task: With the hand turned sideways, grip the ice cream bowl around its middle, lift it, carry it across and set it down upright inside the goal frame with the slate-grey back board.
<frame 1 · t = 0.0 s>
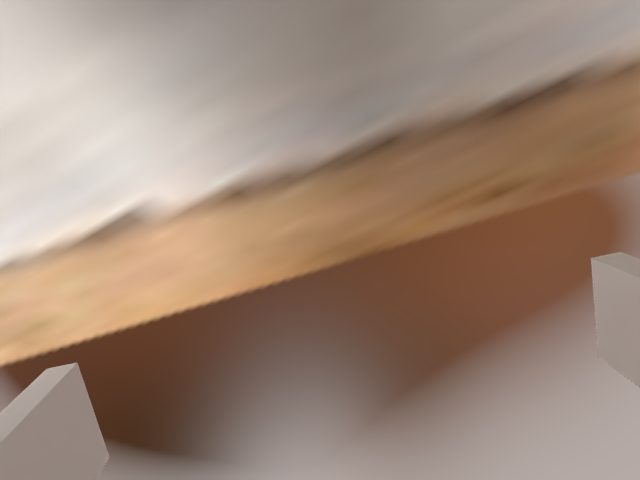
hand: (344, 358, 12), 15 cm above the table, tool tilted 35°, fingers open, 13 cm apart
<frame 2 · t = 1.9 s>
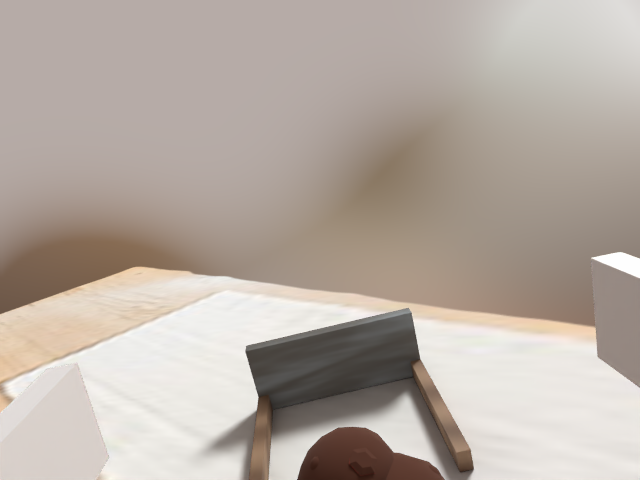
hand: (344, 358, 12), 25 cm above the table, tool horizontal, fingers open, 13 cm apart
goal frame: (351, 435, 48), on the table
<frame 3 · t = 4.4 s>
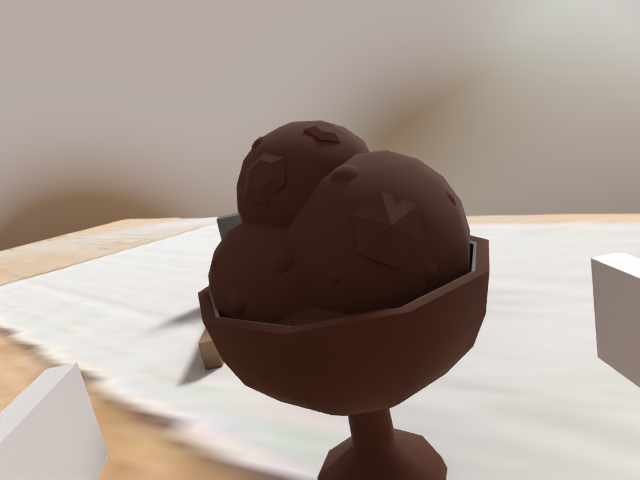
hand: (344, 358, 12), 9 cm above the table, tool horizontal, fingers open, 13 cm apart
goal frame: (333, 302, 41), on the table
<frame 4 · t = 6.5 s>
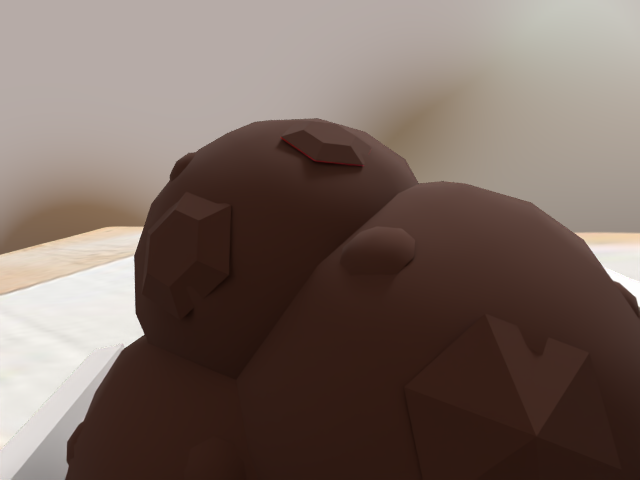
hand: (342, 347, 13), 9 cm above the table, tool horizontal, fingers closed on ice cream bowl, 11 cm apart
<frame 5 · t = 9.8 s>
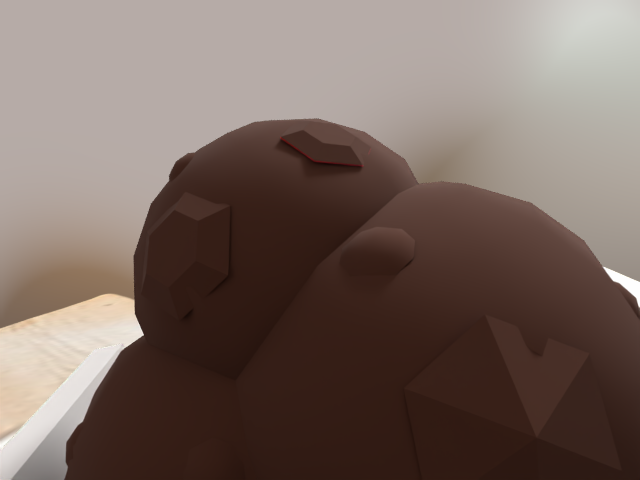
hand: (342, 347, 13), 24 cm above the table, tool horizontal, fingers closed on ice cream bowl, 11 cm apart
when the fingers open (10 cm above the table, at t = 13.2 s): ice cream bowl drops 1 cm, on the table.
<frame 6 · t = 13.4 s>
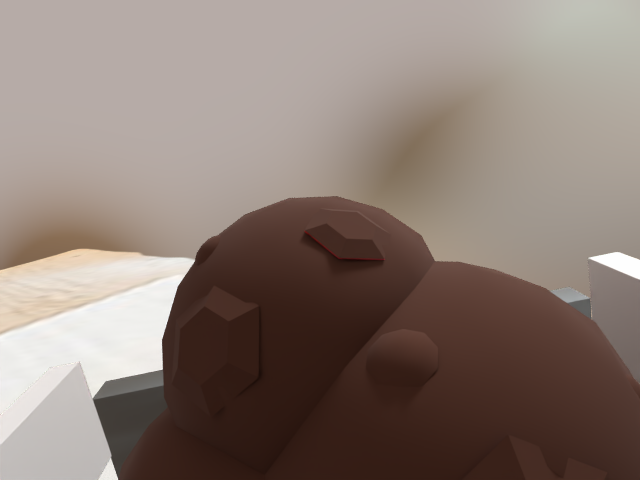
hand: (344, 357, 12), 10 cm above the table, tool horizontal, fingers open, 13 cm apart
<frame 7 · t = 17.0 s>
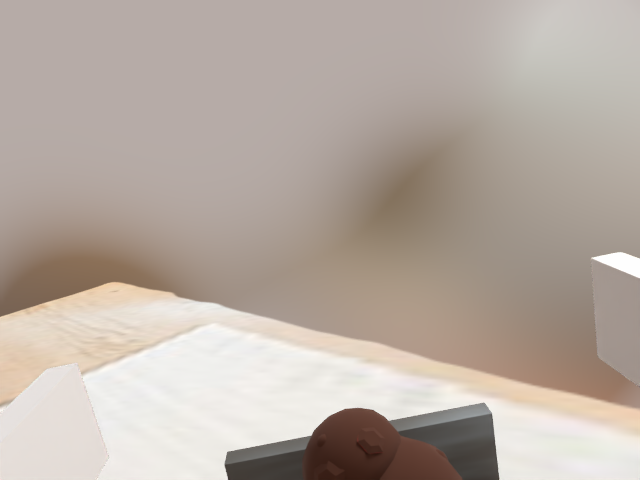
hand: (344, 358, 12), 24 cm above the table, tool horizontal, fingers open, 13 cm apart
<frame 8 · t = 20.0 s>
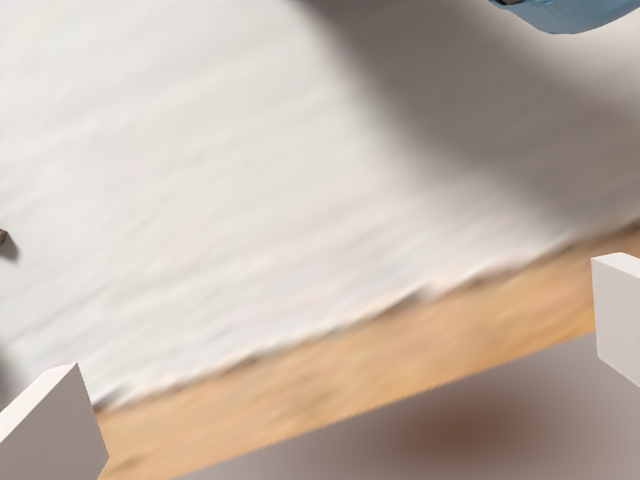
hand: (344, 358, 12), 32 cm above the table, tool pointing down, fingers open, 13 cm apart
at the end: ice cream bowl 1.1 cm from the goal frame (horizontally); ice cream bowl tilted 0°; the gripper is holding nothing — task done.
